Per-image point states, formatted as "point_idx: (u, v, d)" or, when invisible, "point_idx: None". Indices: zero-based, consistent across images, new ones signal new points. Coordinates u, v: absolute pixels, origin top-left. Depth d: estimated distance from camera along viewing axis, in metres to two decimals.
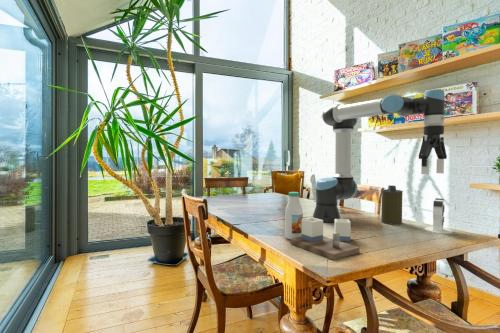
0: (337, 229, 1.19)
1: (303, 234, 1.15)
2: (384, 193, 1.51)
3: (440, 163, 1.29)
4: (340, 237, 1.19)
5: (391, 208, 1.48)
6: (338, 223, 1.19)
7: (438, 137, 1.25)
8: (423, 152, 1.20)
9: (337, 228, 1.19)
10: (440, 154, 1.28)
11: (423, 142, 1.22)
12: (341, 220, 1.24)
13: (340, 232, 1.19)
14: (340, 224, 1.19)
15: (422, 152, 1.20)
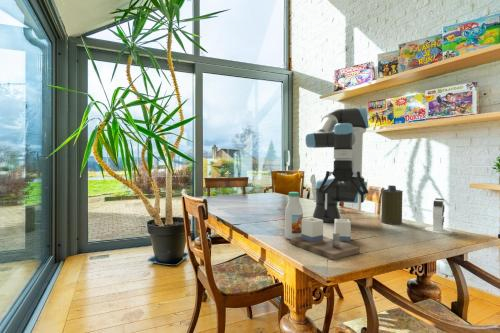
0: (337, 229, 1.19)
1: (303, 234, 1.15)
2: (384, 193, 1.51)
3: (358, 199, 1.20)
4: (340, 237, 1.19)
5: (391, 208, 1.48)
6: (338, 223, 1.19)
7: (348, 172, 1.19)
8: (319, 187, 1.23)
9: (337, 228, 1.19)
10: (356, 190, 1.19)
11: (325, 177, 1.23)
12: (341, 220, 1.24)
13: (340, 232, 1.19)
14: (340, 224, 1.19)
15: (319, 187, 1.23)
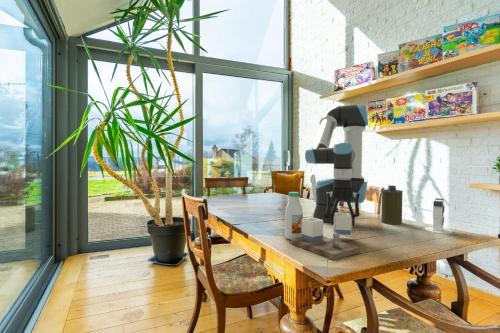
0: (337, 223, 1.20)
1: (303, 234, 1.15)
2: (384, 193, 1.51)
3: None
4: (340, 231, 1.20)
5: (391, 208, 1.48)
6: (338, 217, 1.20)
7: (348, 190, 1.20)
8: (326, 210, 1.23)
9: (337, 222, 1.20)
10: None
11: (327, 199, 1.24)
12: (341, 214, 1.24)
13: (340, 226, 1.20)
14: (340, 218, 1.19)
15: (326, 210, 1.23)
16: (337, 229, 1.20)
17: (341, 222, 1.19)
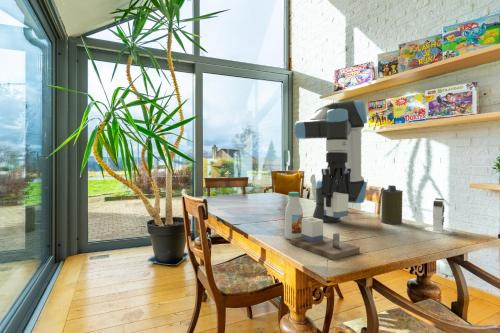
0: (338, 204, 1.01)
1: (303, 234, 1.15)
2: (384, 193, 1.51)
3: None
4: (340, 213, 1.01)
5: (391, 208, 1.48)
6: (339, 196, 1.01)
7: (343, 165, 1.04)
8: (325, 191, 1.00)
9: (338, 202, 1.01)
10: (342, 189, 1.05)
11: (323, 177, 1.01)
12: None
13: (340, 207, 1.01)
14: (340, 198, 1.01)
15: (324, 191, 1.00)
16: (338, 211, 1.01)
17: (341, 202, 1.01)
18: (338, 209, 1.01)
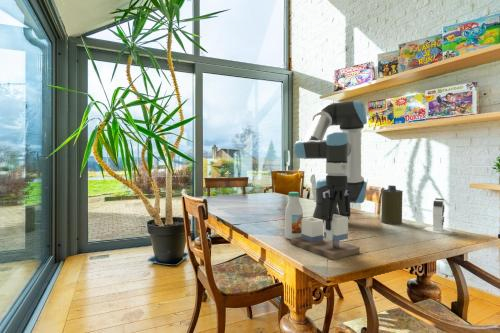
0: (338, 227, 1.01)
1: (303, 234, 1.15)
2: (384, 193, 1.51)
3: None
4: (340, 236, 1.02)
5: (391, 208, 1.48)
6: (339, 220, 1.01)
7: (343, 187, 1.04)
8: (324, 214, 1.00)
9: (338, 226, 1.01)
10: (342, 211, 1.06)
11: (323, 200, 1.01)
12: None
13: (340, 230, 1.01)
14: (340, 221, 1.01)
15: (323, 214, 1.01)
16: (338, 235, 1.01)
17: (341, 225, 1.02)
18: (338, 232, 1.01)
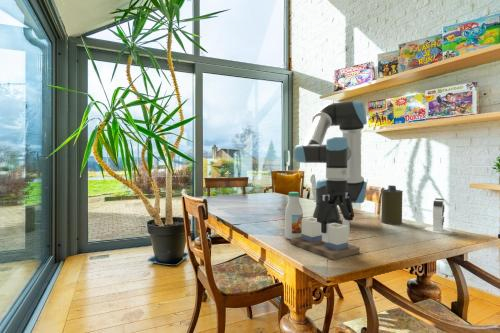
0: (338, 236, 1.01)
1: (303, 234, 1.15)
2: (384, 193, 1.51)
3: None
4: (340, 245, 1.02)
5: (391, 208, 1.48)
6: (339, 229, 1.01)
7: (342, 193, 1.04)
8: (321, 217, 0.99)
9: (338, 235, 1.01)
10: (345, 214, 1.07)
11: (321, 203, 1.01)
12: (331, 225, 1.06)
13: (340, 239, 1.02)
14: (340, 230, 1.02)
15: (320, 216, 1.00)
16: (338, 244, 1.01)
17: (341, 235, 1.02)
18: (338, 242, 1.01)
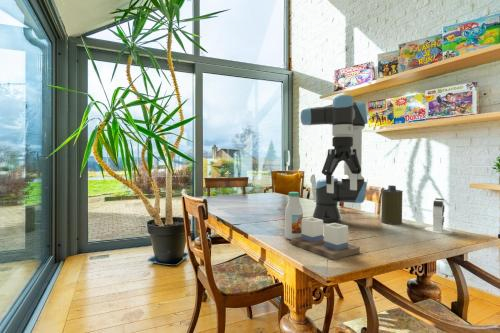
0: (338, 236, 1.01)
1: (303, 234, 1.15)
2: (384, 193, 1.51)
3: (353, 178, 1.13)
4: (340, 245, 1.02)
5: (391, 208, 1.48)
6: (339, 229, 1.01)
7: (348, 149, 1.09)
8: (326, 168, 1.04)
9: (338, 235, 1.01)
10: (352, 168, 1.12)
11: (328, 156, 1.06)
12: (331, 225, 1.06)
13: (340, 239, 1.02)
14: (340, 230, 1.02)
15: (325, 168, 1.04)
16: (338, 244, 1.01)
17: (341, 235, 1.02)
18: (338, 242, 1.01)
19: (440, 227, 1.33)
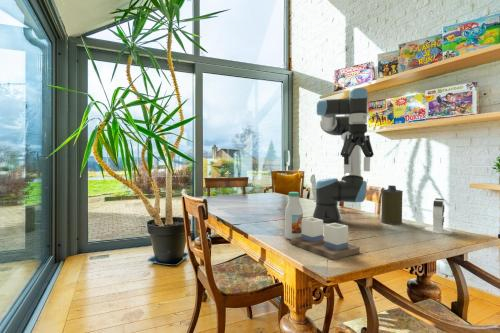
0: (338, 236, 1.01)
1: (303, 234, 1.15)
2: (384, 193, 1.51)
3: (366, 161, 1.30)
4: (340, 245, 1.02)
5: (391, 208, 1.48)
6: (339, 229, 1.01)
7: (362, 135, 1.26)
8: (344, 150, 1.21)
9: (338, 235, 1.01)
10: (366, 152, 1.29)
11: (345, 140, 1.23)
12: (331, 225, 1.06)
13: (340, 239, 1.02)
14: (340, 230, 1.02)
15: (343, 150, 1.21)
16: (338, 244, 1.01)
17: (341, 235, 1.02)
18: (338, 242, 1.01)
19: (440, 227, 1.33)
